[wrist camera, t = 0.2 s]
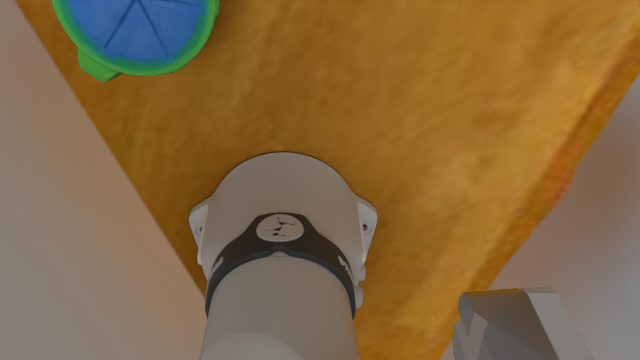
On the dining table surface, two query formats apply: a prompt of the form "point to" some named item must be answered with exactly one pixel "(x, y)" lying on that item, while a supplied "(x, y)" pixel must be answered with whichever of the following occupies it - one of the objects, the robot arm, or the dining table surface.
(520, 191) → the dining table surface
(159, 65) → the snack cup
